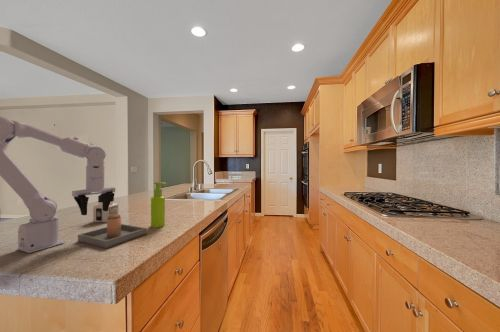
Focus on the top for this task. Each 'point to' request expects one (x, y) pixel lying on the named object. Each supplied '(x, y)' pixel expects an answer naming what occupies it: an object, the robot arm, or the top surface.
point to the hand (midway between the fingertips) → (95, 212)
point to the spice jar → (113, 226)
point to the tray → (102, 241)
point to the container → (103, 215)
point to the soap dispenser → (158, 207)
